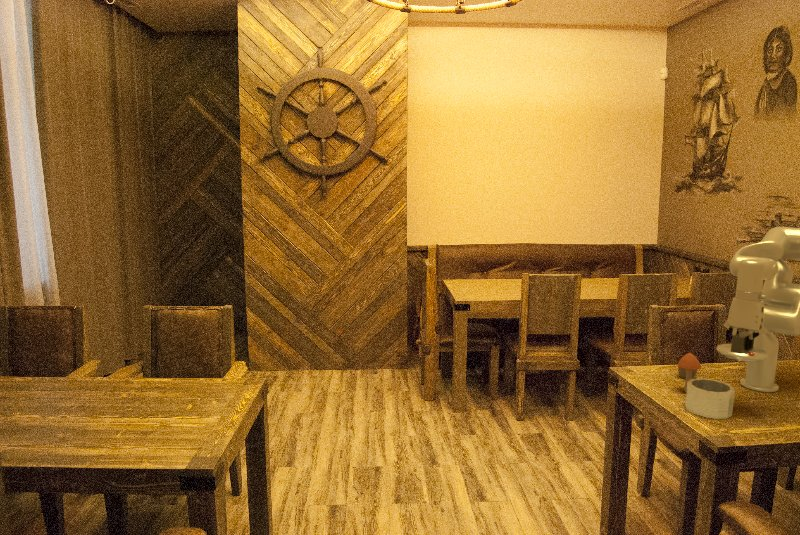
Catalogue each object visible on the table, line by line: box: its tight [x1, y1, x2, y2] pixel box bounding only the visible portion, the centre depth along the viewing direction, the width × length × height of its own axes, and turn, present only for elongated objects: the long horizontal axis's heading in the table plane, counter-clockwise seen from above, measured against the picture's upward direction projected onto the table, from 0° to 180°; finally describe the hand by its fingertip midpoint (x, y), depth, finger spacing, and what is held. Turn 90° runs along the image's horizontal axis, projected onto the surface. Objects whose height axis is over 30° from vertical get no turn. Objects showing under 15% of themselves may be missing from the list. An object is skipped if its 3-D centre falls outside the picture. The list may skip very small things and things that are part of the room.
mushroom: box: [677, 352, 702, 393], centre depth 224 cm, size 8×8×15 cm
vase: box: [677, 365, 698, 380], centre depth 239 cm, size 7×7×9 cm
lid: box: [716, 330, 768, 363], centre depth 206 cm, size 15×15×8 cm
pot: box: [684, 377, 736, 420], centre depth 207 cm, size 14×14×9 cm
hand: (742, 348), depth 206 cm, fingers closed on lid, 3 cm apart
